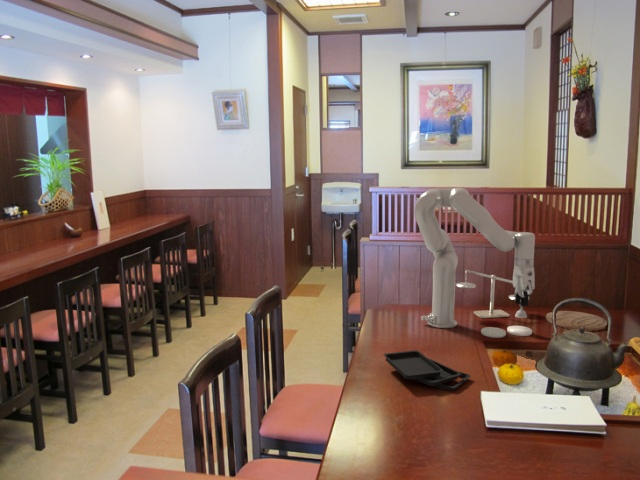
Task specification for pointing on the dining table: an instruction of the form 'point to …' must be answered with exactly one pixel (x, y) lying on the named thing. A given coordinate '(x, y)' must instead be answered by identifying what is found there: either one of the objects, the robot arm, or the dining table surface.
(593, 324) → the trivet
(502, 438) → the dining table surface
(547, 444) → the dining table surface
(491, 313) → the balance
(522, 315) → the chalice
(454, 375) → the tray
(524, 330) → the dish right
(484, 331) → the dish left
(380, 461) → the dining table surface
